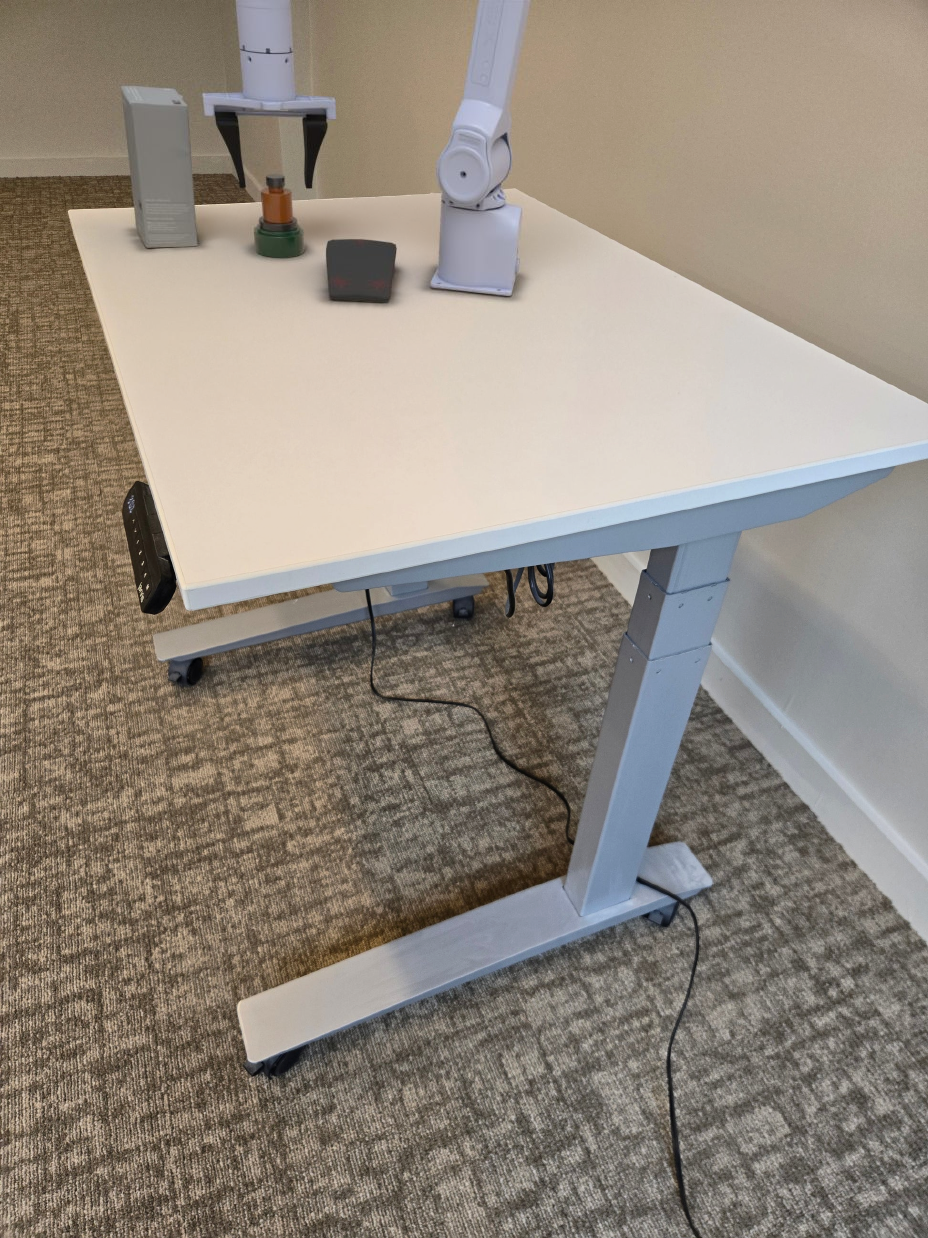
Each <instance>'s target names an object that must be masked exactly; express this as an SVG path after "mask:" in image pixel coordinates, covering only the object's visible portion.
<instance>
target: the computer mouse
mask: <svg viewBox="0 0 928 1238" xmlns="http://www.w3.org/2000/svg"><path fill="white" fill-rule="evenodd" d="M397 250H398V248H397V244H396V243H393V242H391V241H382V240H375V239H365V238H341V239H340V238H339V239H338V238H337V239H330V240H328V241H327V242H326V247H325V264H326V275H327V286H328V295H329V297H328V298H329V299H330V300H331V301H332V300H333V301H343V302H345V301H347V302H365V303H366V302H367V303H388V302H389V301H390V298H391V293H392V289H393V288H392V287H393V283H394V276H395V267H396V266H395V265H396V257H397Z"/></svg>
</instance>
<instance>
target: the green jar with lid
mask: <svg viewBox="0 0 928 1238" xmlns="http://www.w3.org/2000/svg"><path fill="white" fill-rule="evenodd" d="M304 232H305V231H304V228H303V227H301V226H300V225H299V223H298V218H296V217H295V216H293V221H291V222H289V223H281V224H277V223H269V222H266V221H264V220H263V215H261V216H260V217H258V223H257V224H256V226H254V228H253V239H254V240H253V241H254V250H255V252H256V253H257V254H258V255H261V256H263V257H268V258H276V259H287V258H294V257H298V256H302V255H303V254H304V253H305V250H306V249H305V233H304Z"/></svg>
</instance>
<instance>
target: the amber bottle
mask: <svg viewBox="0 0 928 1238" xmlns="http://www.w3.org/2000/svg"><path fill="white" fill-rule="evenodd" d="M265 184H266V187H263V188H261V190H260V198H261V211H262V216H263V220H264V221H266V222H269V223H277V224H281V223H289V222H291V221H293V217H294V207H293V191H292V190H291V189H289V188H286V187H285V186H286V176H285V175H284V174H280V173H269V174H266V175H265Z"/></svg>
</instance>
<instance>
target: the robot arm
mask: <svg viewBox="0 0 928 1238" xmlns="http://www.w3.org/2000/svg"><path fill="white" fill-rule="evenodd" d="M531 2H532V0H478V3H477V11H476V15H475V20H474V21H475V22H474V26H473V27H474V28H473V34H472V40H471V47H470V52H469V59H468V63H467V70H466V76H465V82H464V88H463V94H462V99H461V103H460V105H459V107H458V110H457V113H456V115H455V117H454V119H453V122H452V124H451V130H450V136H449V139H448V142H447V144H446V146H445V147H444V148H443V150H442V152H441V153H440V155H439V157H438V159H437V162H436V168H435V174H436V175H435V176H436V181H437V184H438V187H439V189H440V191H441V197H440V198H441V199H440V219H439V238H438V239H439V241H438V260H437V261H438V263H437V264H438V266H437V268H436V270H435V272H434V274H433V276H432V278H431V281H430V283H429V286H430V288H433V289H442V290H451V291H459V292H460V291H461V292H469V293H478V294H487V295H495V296H504V297H505V296H507V297H510V296H512V294H513V291H514V286H515V283H516V278H517V276H518V275H519V271H520V262H521V259H520V258H519V249H520V240H521V230H522V220H523V207H522V206H520V205H516V204H515V205H514V204H511V203H507V202H506V199H507V198H506V195H505V191H504V188H503V185H502V184H503V183H504V182H505V181H506V180H507V179H508V177H509V175H510V174H511V171H512V167H513V162H514V161H513V160H514V156H513V155H514V154H513V149H512V145H511V131H512V125H513V119H512V112H511V103H512V98H513V93H514V87H515V82H516V77H517V72H518V67H519V62H520V58H521V52H522V47H523V42H524V37H525V32H526V27H527V22H528V18H529V12H530V7H531ZM235 11H236V24H237V36H238V46H239V57H240V69H241V81H242V82H241V83H242V92H215V93H214V92H210V93H209V92H203V93H202V102H203V112H204V113H203V114H204V116H205V117H214V120H215V126H216V127H217V130H218V132H219V133H220V135H221V137H222V139H223V141H224V144H225V145H226V148H227V151H228V152H229V155H230V158H231V161H232V163H233V166H234V168H235V172H236V176H237V180H238V185H239V188H240V189H246V188H247V186H246V185H247V184H246V183H247V182H246V175H245V169H244V163H243V158H242V148H241V147H242V146H241V145H242V144H241V133H240V126H239V118H238V117H270V118H271V117H273V118H302V119H301V121H302V136H303V146H304V147H303V150H304V151H303V153H304V159H303V160H304V163H303V179H304V186H305V189H313V181H314V173H315V169H316V164H317V160H318V156H319V152H320V150H321V147H322V144H323V141H324V139H325V137H326V135H327V132H328V126H329V125H328V121H327V120H332V121H335V120H337V101H336V99H335V98H334V96H333V97H332V96H317V95H306V94H297V93H296V79H295V75H296V74H295V59H294V41H293V21H292V20H293V19H292V1H291V0H235Z"/></svg>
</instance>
